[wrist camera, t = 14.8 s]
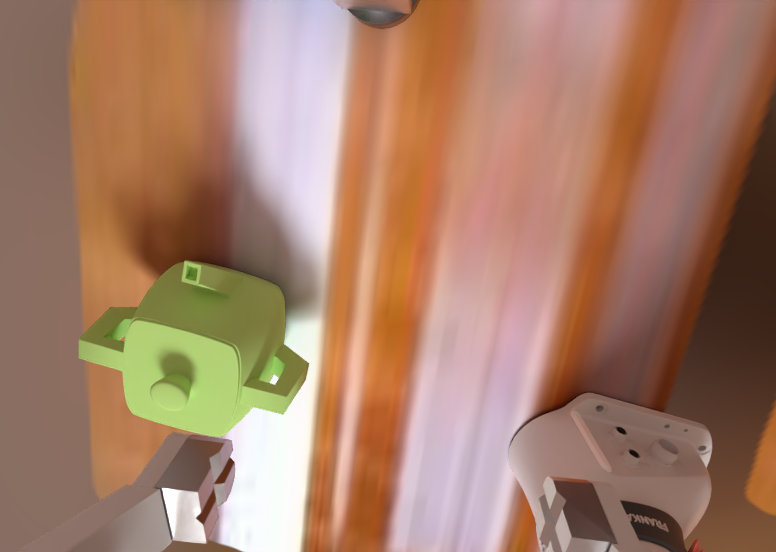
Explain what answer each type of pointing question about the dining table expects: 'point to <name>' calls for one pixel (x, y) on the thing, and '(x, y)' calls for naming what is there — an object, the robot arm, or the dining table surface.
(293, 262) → the dining table surface
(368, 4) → the cube with grey knob
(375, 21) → the ratchet
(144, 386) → the teapot
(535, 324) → the dining table surface
